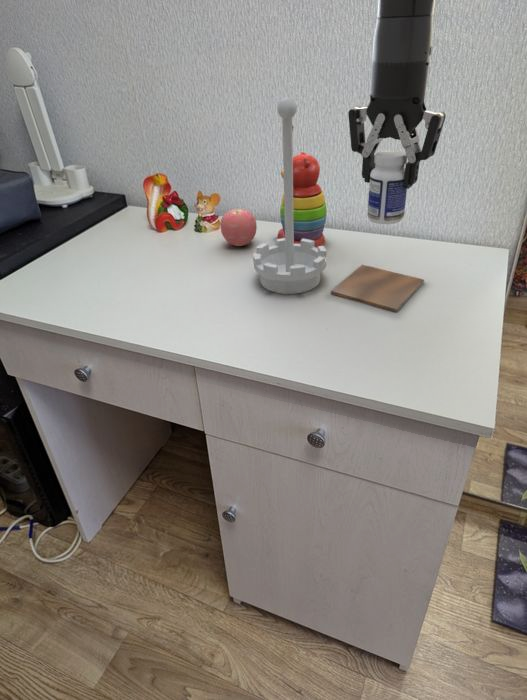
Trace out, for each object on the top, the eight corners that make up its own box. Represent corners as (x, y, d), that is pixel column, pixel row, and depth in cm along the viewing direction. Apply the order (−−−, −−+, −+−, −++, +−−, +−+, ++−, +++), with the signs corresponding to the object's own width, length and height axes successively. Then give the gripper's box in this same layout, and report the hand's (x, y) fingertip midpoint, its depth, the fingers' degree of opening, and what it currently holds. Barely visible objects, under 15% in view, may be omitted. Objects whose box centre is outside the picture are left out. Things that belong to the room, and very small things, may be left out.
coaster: (424, 282, 87) (424, 279, 87) (396, 312, 79) (396, 309, 79) (362, 267, 93) (362, 264, 93) (330, 293, 85) (330, 290, 85)
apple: (220, 239, 107) (217, 203, 102) (254, 235, 108) (251, 199, 103) (224, 253, 101) (220, 215, 96) (259, 249, 102) (257, 211, 97)
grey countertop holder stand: (321, 299, 84) (325, 104, 66) (247, 294, 86) (232, 106, 69) (329, 265, 94) (335, 89, 77) (263, 262, 97) (254, 91, 79)
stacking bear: (277, 233, 108) (275, 148, 98) (323, 232, 108) (326, 146, 97) (277, 254, 99) (274, 163, 89) (327, 253, 99) (330, 161, 88)
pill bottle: (405, 213, 80) (413, 149, 74) (401, 226, 76) (409, 159, 70) (369, 211, 82) (374, 148, 76) (363, 223, 77) (368, 157, 72)
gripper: (339, 59, 67) (335, 184, 77) (444, 60, 60) (425, 198, 70) (364, 54, 72) (357, 172, 82) (464, 54, 65) (443, 184, 74)
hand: (388, 183), depth 75 cm, fingers closed on pill bottle, 5 cm apart
